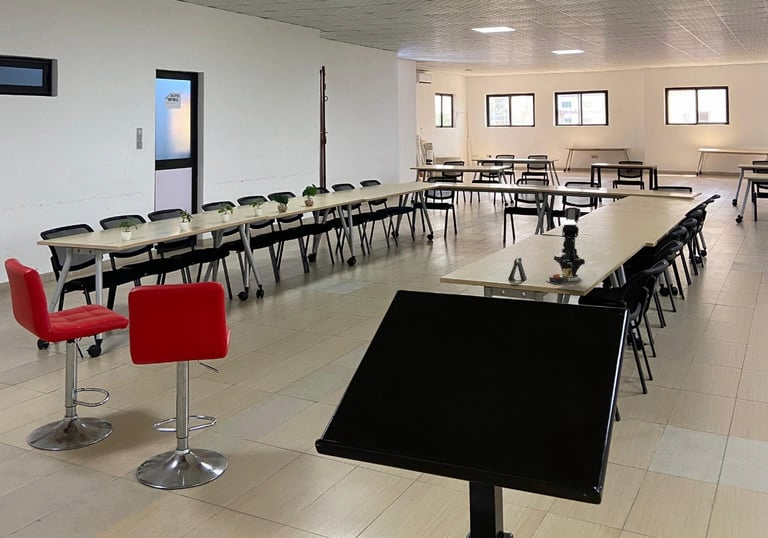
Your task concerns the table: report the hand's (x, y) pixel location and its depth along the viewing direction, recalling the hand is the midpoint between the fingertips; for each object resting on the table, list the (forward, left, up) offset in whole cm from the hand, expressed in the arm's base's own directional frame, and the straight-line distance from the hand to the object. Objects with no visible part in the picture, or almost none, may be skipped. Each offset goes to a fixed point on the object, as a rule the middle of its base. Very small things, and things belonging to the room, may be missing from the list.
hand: (568, 275), depth 410 cm
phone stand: (+22, -16, -3) cm, 28 cm away
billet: (0, 0, -2) cm, 2 cm away
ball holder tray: (+4, 0, -3) cm, 5 cm away
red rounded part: (+8, 0, -1) cm, 9 cm away
